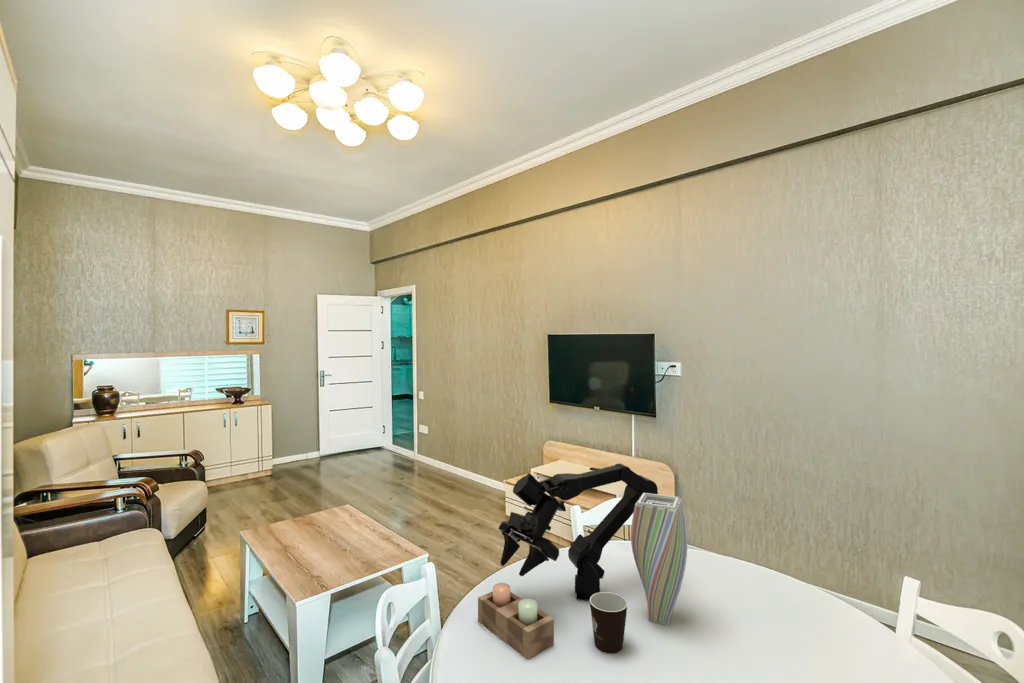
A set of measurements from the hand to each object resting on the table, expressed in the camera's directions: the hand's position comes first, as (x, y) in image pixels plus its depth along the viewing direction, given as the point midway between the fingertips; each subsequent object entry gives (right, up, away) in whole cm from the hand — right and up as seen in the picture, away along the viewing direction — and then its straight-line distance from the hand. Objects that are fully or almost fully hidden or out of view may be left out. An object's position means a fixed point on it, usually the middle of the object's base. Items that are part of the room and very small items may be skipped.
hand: (510, 570), depth 120 cm
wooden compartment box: (+1, -12, -6) cm, 14 cm away
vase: (+38, -12, 0) cm, 40 cm away
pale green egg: (+4, -8, -10) cm, 13 cm away
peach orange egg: (-2, -8, -2) cm, 9 cm away
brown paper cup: (+23, -12, -9) cm, 28 cm away
